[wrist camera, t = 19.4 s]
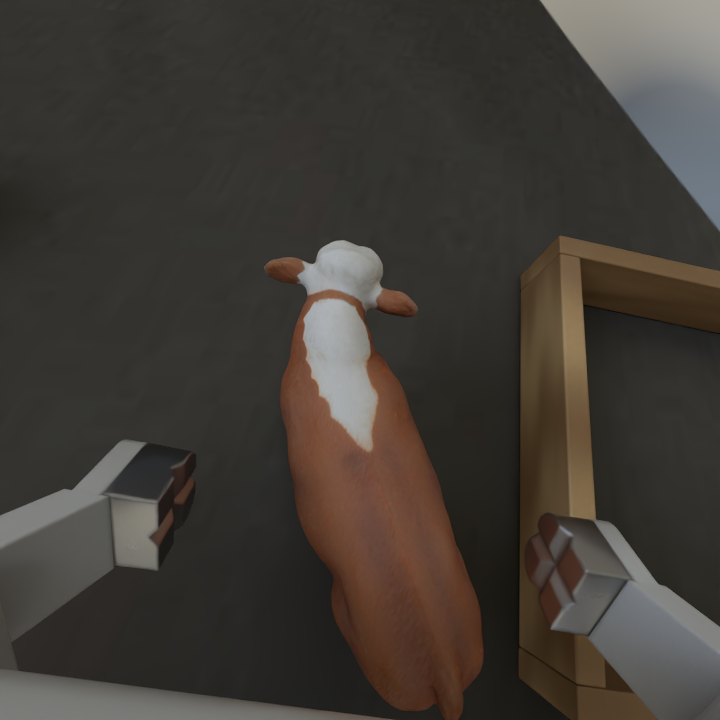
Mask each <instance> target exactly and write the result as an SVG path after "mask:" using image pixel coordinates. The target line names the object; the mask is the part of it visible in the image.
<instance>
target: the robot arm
mask: <svg viewBox="0 0 720 720" xmlns="http://www.w3.org/2000/svg"><path fill="white" fill-rule="evenodd" d="M195 468H196V454H195V453H194V452H192V451H187V450H182V449H177V448H171V447H166V446H161V445H156V444H151V443H149V444H148V443H144V442H138V441H133V440H128V439H125V440H123V441H120V442H119V443H118V444H117V445H116V446H115V447H114V448H113V449H112V450H111V451H110V452H109V453H108V454H107V455H106V456H105V457H104V458H103V459H102V460H101V461H100V462H99V463H98V464H97V465H96V466H95V467H94V468H93V469H92V470H91V471H90V472H89V473H88V474H87V475H86V476H85V477H84V478H83V479H82V481H81V482H80V483H79V484H78V485H77V486H76V487H75V488H74V489H73V490H67V489H63V490H61V491H58V492H56V493H54V494H51V495H49V496H46V497H44V498H42V499H39V500H37V501H34V502H32V503H29V504H27V505H25V506H22V507H20V508H17V509H15V510H12V511H10V512H8V513H5V514H3V515H0V720H394V719H386V718H378V717H370V716H363V715H355V714H347V713H339V712H331V711H324V710H316V709H308V708H300V707H293V706H285V705H277V704H270V703H262V702H254V701H246V700H239V699H231V698H223V697H216V696H208V695H200V694H193V693H185V692H177V691H169V690H162V689H154V688H146V687H139V686H131V685H123V684H116V683H108V682H100V681H92V680H85V679H77V678H69V677H62V676H54V675H46V674H39V673H31V672H23V671H19V670H18V665H17V662H16V658H15V654H14V651H13V647H12V642H13V641H15V640H16V639H17V638H19V637H20V636H21V635H23V634H24V633H26V632H27V631H28V630H30V629H31V628H32V627H34V626H35V625H36V624H38V623H39V622H41V621H42V620H43V619H45V618H46V617H47V616H49V615H50V614H52V613H53V612H54V611H56V610H57V609H58V608H60V607H61V606H63V605H64V604H65V603H67V602H68V601H69V600H71V599H72V598H74V597H75V596H76V595H78V594H79V593H80V592H82V591H83V590H85V589H86V588H87V587H89V586H90V585H91V584H93V583H94V582H95V581H97V580H98V579H100V578H101V577H102V576H104V575H105V574H106V573H108V572H109V571H111V570H112V569H113V568H114V565H116V566H124V567H132V568H141V569H149V570H157V571H158V570H159V568H160V566H161V565H162V563H163V561H164V559H165V557H166V555H167V554H168V552H169V550H170V548H171V546H172V545H173V541H174V531H175V530H176V529H178V528H180V527H181V526H183V524H184V522H185V520H186V518H187V517H188V515H189V512H190V509H191V506H192V503H193V499H194V494H195V484H196V482H195V481H194V480H193V478H192V477H191V475H192V473H193V471H194V470H195ZM537 527H538V529H539V532H538V533H537V534H535V535H533V536H532V537H530V538H529V540H528V542H527V544H526V547H525V551H524V564H525V569H526V572H527V575H528V577H529V580H530V581H531V582H532V583H533V584H534V585H535V586H536V587H537V588H538V589H539V590H540V593H539V596H538V602H539V604H540V606H541V609H542V611H543V613H544V616H545V618H546V621H547V623H548V625H549V628H550V630H556V631H561V632H567V633H572V634H578V635H583V636H589V637H588V639H589V641H590V642H591V643H592V644H593V645H594V646H595V648H596V649H597V650H598V651H599V652H600V653H601V655H602V656H603V657H604V658H605V659H606V660H607V661H608V663H609V664H610V665H611V666H612V667H613V668H614V670H615V671H616V672H617V673H618V674H619V675H620V677H621V678H622V679H623V680H624V681H625V682H626V683H627V685H628V686H629V687H630V688H631V689H632V690H633V692H634V693H635V694H636V695H637V696H638V697H639V699H640V700H641V701H642V702H643V703H644V704H645V705H646V707H647V708H648V709H649V710H650V711H651V712H652V714H653V715H654V716H655V717H656V718H657V719H658V720H720V627H719V626H718V625H716V624H715V623H714V622H712V621H711V620H710V619H708V618H707V617H706V616H704V615H703V614H702V613H701V612H699V611H698V610H697V609H695V608H694V607H693V606H691V605H690V604H689V603H687V602H686V601H685V600H683V599H682V598H681V597H679V596H678V595H677V594H675V593H674V592H673V591H671V590H670V589H669V588H667V587H666V586H663V585H658V583H657V582H656V581H655V579H654V578H653V577H652V575H651V574H650V572H649V571H648V570H647V568H646V567H645V566H644V564H643V563H642V562H641V560H640V559H639V558H638V556H637V555H636V554H635V552H634V551H633V550H632V548H631V547H630V545H629V544H628V543H627V541H626V540H625V539H624V537H623V536H622V535H621V533H620V532H619V531H618V529H617V528H616V527H615V526H614V525H613V524H611V523H610V522H607V521H601V520H594V519H584V518H579V517H572V516H566V515H560V514H554V513H548V512H546V513H545V514H543V515H542V516H541V517H540V519H539V521H538V523H537Z"/></svg>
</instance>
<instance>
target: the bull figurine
mask: <svg viewBox="0 0 720 720" xmlns="http://www.w3.org/2000/svg"><path fill="white" fill-rule="evenodd" d="M265 272H266V273H267V274H268V275H269V277H271V278H273V279H275V280H278V281H281V282H286V283H298V284H302V285H303V286H305V288H306V290H307V293H308V295H307V300H306V302H305V304H304V306H303V307H302V310H301V313H300V316H299V318H298V321H297V323H296V326H295V331H294V335H293V339H292V344H291V356H290V359H289V363H288V366H287V369H286V371H285V373H284V375H283V378H282V384H281V391H280V407H281V412H282V417H283V420H284V424H285V427H286V432H287V442H288V459H289V467H290V472H291V476H292V481H293V486H294V491H295V503H296V509H297V513H298V517H299V520H300V523H301V526H302V528H303V531H304V533H305V535H306V537H307V539H308V541H309V543H310V544H311V546H312V548H313V549H314V551H315V552H316V553H317V555H318V556H319V558H320V559H321V560H322V561H323V562H324V563H325V564H326V566H327V567H328V568H329V570H330V572H331V573H332V576H333V586H332V592H331V604H332V611H333V614H334V618H335V620H336V623H337V625H338V627H339V629H340V631H341V633H342V635H343V636H344V638H345V639H346V641H347V643H348V644H349V646H350V647H351V650H352V652H353V654H354V656H355V658H356V660H357V662H358V664H359V666H360V668H361V670H362V671H363V673H364V675H365V676H366V677H367V679H368V680H369V682H370V683H371V685H372V686H373V687H374V689H375V690H376V691H377V692H378V693H379V695H380V696H381V697H382V698H383V699H384V700H385V701H386V702H387V703H389V704H390V705H392V706H393V707H395V708H397V709H399V710H403V711H422V710H426V709H428V708H429V707H431V706H432V705H433V704H436V705H437V706H438V707H439V709H440V711H441V714H442V716H443V718H444V719H445V720H459V718H460V716H461V714H462V710H463V691H464V690H465V689H466V688H467V687H468V686H469V685H470V684H471V683H472V682H473V681H474V679H475V678H476V677H477V676H478V674H479V673H480V670H481V668H482V664H483V640H482V625H481V613H480V606H479V603H478V600H477V597H476V594H475V591H474V588H473V586H472V583H471V581H470V579H469V576H468V573H467V570H466V567H465V564H464V561H463V558H462V556H461V553H460V551H459V549H458V547H457V545H456V543H455V538H454V534H453V530H452V527H451V523H450V520H449V516H448V513H447V510H446V507H445V504H444V500H443V496H442V491H441V487H440V484H439V481H438V478H437V475H436V473H435V471H434V468H433V466H432V464H431V462H430V459H429V457H428V454H427V452H426V449H425V447H424V445H423V442H422V440H421V437H420V435H419V432H418V430H417V427H416V425H415V422H414V420H413V417H412V414H411V412H410V409H409V406H408V403H407V399H406V396H405V393H404V390H403V388H402V386H401V384H400V382H399V381H398V379H397V378H396V377H395V375H394V374H393V373H392V372H391V370H390V368H389V367H388V365H387V363H386V361H385V360H384V359H383V357H382V356H381V355H380V354H379V353H378V352H376V351H375V349H374V347H373V344H372V336H371V333H370V331H369V329H368V327H367V324H366V321H365V314H366V311H367V310H368V309H372V308H373V309H377V310H379V311H382V312H384V313H387V314H391V315H397V316H403V317H412V316H414V315H415V314H416V313H417V312H418V308H417V306H416V304H415V303H414V302H413V301H412V300H411V299H410V298H409V297H408V296H407V295H406V294H404V293H402V292H399V291H392V290H388V289H385V288H383V287H381V286H380V283H379V282H380V280H381V278H382V276H383V265H382V263H381V260H380V258H379V257H378V256H377V254H376V253H375V252H374V251H373V250H372V249H370V248H367V247H363V246H361V247H360V246H357V245H354V244H352V243H350V242H347V241H344V240H342V241H334V242H331V243H330V244H328V245H326V246H324V247H323V248H321V249H320V251H319V252H318V256H317V259H316V262H315V263H314V264H308V263H306V262H304V261H302V260H300V259H298V258H292V257H286V258H280V259H275V260H272V261H270V262H268V263H267V264H266V266H265Z"/></svg>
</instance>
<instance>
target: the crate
mask: <svg viewBox="0 0 720 720" xmlns="http://www.w3.org/2000/svg"><path fill="white" fill-rule="evenodd" d="M583 304H584V305H588V306H593V307H598V308H602V309H607V310H612V311H616V312H621V313H626V314H631V315H635V316H640V317H645V318H649V319H654V320H659V321H663V322H668V323H673V324H677V325H682V326H687V327H692V328H696V329H701V330H706V331H710V332H715V333H720V271H715V270H711V269H706V268H702V267H698V266H693V265H689V264H684V263H680V262H675V261H671V260H667V259H662V258H658V257H653V256H649V255H644V254H640V253H636V252H631V251H627V250H622V249H618V248H614V247H609V246H605V245H600V244H596V243H591V242H587V241H583V240H578V239H574V238H569V237H565V236H559V237H558V238H557V239H556V240H555V241H554V242H553V243H552V244H551V245H550V246H549V247H548V248H547V249H546V250H545V251H544V252H543V253H542V254H541V255H540V256H539V257H538V258H537V259H536V261H535V262H534V263H533V264H532V265H531V266H530V267H529V268H528V269H527V270H526V271H525V272H524V273H523V274H522V275H521V374H520V595H519V645H520V647H519V678H520V679H521V680H522V681H524V682H525V683H526V684H527V685H529V686H530V687H531V688H532V689H534V690H535V691H536V692H537V693H538V694H540V695H541V696H542V697H543V698H545V699H546V700H547V701H548V702H550V703H551V704H552V705H553V706H554V707H556V708H557V709H558V710H559V711H561V712H562V713H563V714H564V715H566V716H567V717H568V718H569V719H571V720H658V719H657V718H656V717H655V716H654V715H653V714H652V712H651V711H650V710H649V709H648V708H647V707H646V705H645V704H644V703H643V702H642V701H641V700H640V699H639V697H638V696H637V695H636V694H635V693H634V692H633V690H632V689H631V688H630V687H629V686H628V685H627V683H626V682H625V681H624V680H623V679H622V678H621V677H620V675H619V674H618V673H617V672H616V671H615V670H614V668H613V667H612V666H611V665H610V664H609V663H608V661H607V660H606V659H604V657H603V656H602V655H601V653H600V652H599V651H598V650H597V649H596V648H595V646H594V645H593V644H592V643H591V642H590V641H589V639H588V637H589V636H583V635H578V634H572V633H567V632H561V631H556V630H550V628H549V625H548V623H547V621H546V618H545V616H544V613H543V611H542V609H541V606H540V604H539V602H538V596H539V593H540V590H539V589H538V588H537V587H536V586H535V585H534V584H533V583H532V582H531V581H530V580H529V577H528V575H527V572H526V569H525V564H524V551H525V547H526V544H527V542H528V540H529V538H530V537H532V536H533V535H535V534H537V533H538V532H539V529H538V527H537V523H538V521H539V519H540V517H541V516H542V515H543V514H545V513H546V512H548V513H554V514H560V515H566V516H572V517H579V518H584V519H594V520H596V512H595V496H594V479H593V463H592V446H591V430H590V413H589V397H588V380H587V364H586V347H585V331H584V314H583Z"/></svg>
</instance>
